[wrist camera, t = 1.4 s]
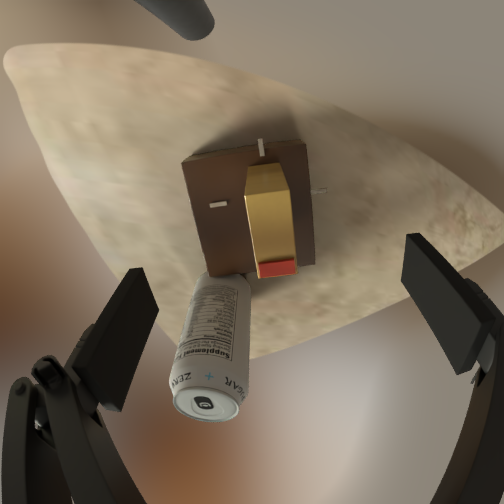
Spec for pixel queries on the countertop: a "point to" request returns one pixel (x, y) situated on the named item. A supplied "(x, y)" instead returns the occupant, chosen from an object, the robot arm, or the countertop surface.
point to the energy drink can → (214, 350)
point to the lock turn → (270, 220)
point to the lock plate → (234, 207)
